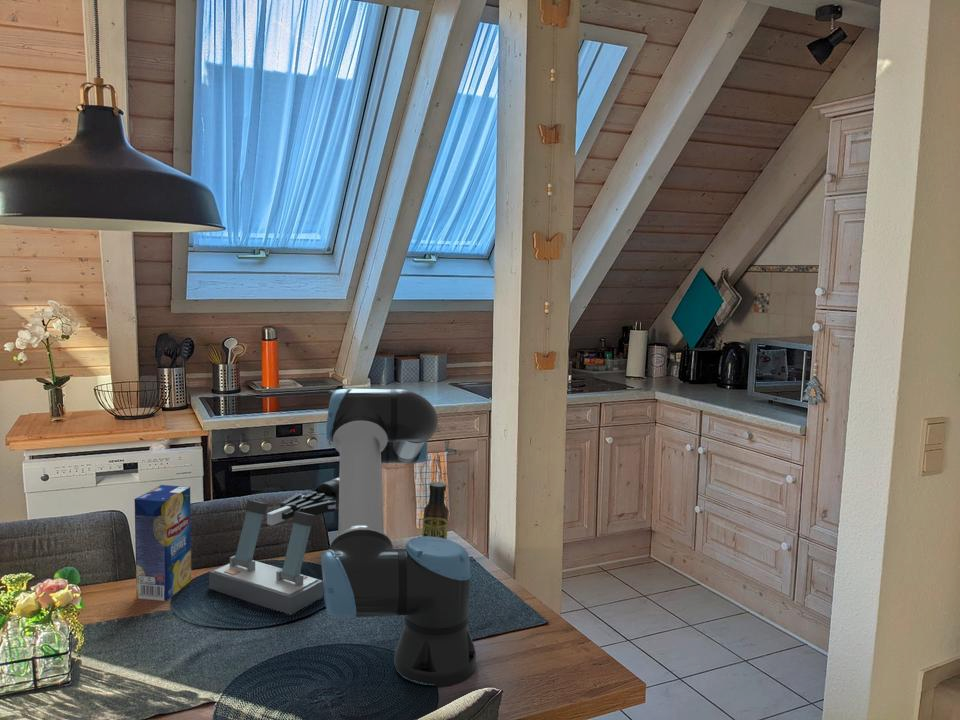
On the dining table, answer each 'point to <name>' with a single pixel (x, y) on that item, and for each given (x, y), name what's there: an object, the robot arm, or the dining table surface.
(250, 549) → the lever far
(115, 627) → the dining table surface
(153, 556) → the blue food box
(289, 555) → the lever near
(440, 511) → the sauce bottle
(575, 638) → the dining table surface
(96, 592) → the dining table surface
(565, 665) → the dining table surface
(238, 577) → the switch console
